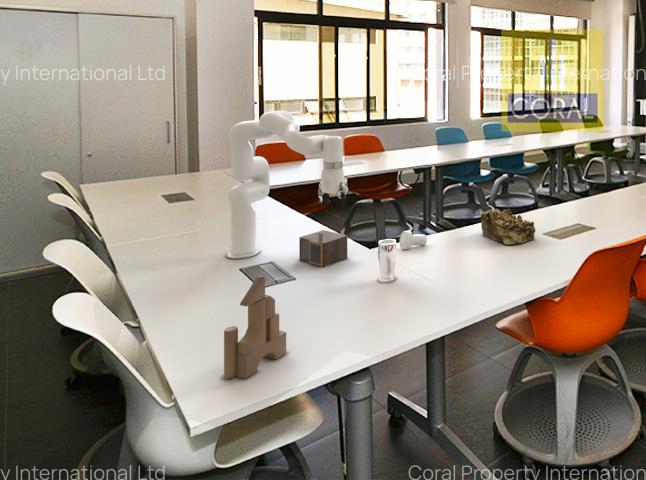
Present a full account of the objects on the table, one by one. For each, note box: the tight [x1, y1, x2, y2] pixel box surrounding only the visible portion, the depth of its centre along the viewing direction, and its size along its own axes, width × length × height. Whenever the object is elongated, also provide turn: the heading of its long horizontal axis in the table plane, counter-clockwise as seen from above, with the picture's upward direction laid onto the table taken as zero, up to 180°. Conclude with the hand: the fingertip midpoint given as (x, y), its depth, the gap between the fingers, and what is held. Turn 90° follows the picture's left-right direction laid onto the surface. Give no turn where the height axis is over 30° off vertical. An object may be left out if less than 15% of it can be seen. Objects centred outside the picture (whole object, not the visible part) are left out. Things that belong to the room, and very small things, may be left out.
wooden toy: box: [223, 275, 287, 380], centre depth 148 cm, size 16×7×25 cm, turn 162°
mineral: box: [480, 208, 536, 246], centre depth 264 cm, size 27×25×15 cm
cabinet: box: [298, 229, 348, 268], centre depth 231 cm, size 12×16×10 cm
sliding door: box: [308, 233, 323, 267], centre depth 223 cm, size 1×8×14 cm, turn 60°
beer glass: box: [377, 238, 397, 283], centre depth 209 cm, size 7×7×15 cm
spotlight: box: [399, 230, 428, 250], centre depth 247 cm, size 8×11×8 cm
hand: (333, 206), depth 224 cm, fingers open, 9 cm apart
